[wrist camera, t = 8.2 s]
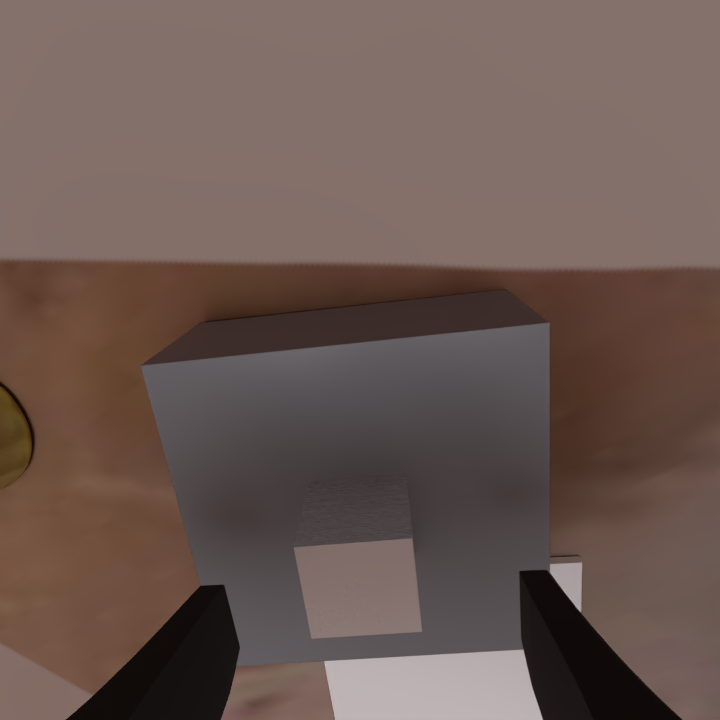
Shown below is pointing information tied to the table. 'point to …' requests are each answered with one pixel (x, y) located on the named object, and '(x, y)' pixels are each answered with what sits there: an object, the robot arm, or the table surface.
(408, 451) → the cover
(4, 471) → the vase
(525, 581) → the robot arm
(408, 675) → the mat
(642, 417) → the table surface
